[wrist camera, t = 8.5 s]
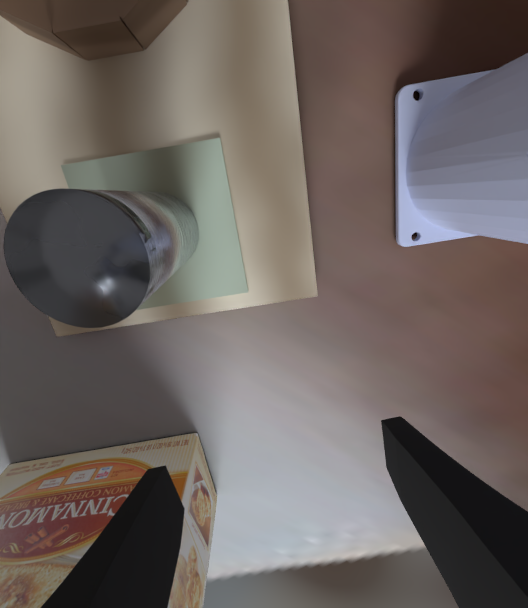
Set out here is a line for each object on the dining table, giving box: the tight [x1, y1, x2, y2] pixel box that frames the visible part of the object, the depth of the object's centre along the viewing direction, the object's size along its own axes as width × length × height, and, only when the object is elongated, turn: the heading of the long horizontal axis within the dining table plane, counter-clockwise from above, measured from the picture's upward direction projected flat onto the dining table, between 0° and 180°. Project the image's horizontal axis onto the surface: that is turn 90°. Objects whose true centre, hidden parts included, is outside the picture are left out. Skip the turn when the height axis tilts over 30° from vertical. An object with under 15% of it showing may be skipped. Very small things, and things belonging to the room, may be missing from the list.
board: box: [0, 0, 318, 337], centre depth 13 cm, size 16×24×4 cm, turn 9°
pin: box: [4, 188, 199, 328], centre depth 12 cm, size 4×4×8 cm
